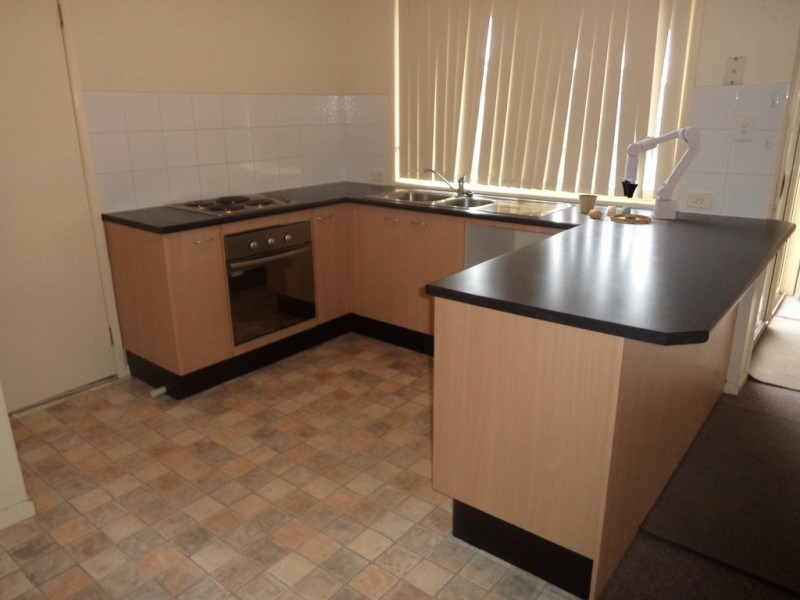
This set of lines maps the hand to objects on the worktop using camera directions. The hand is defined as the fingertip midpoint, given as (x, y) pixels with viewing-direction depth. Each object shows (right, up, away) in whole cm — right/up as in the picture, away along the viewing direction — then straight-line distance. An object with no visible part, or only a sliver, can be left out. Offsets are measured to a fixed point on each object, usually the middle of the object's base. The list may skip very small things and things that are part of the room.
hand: (627, 197), depth 295 cm
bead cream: (-7, -9, +4) cm, 12 cm away
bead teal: (0, -9, +3) cm, 9 cm away
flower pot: (-17, -6, +12) cm, 21 cm away
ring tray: (-3, -13, -10) cm, 17 cm away
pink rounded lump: (-17, -10, -7) cm, 21 cm away
